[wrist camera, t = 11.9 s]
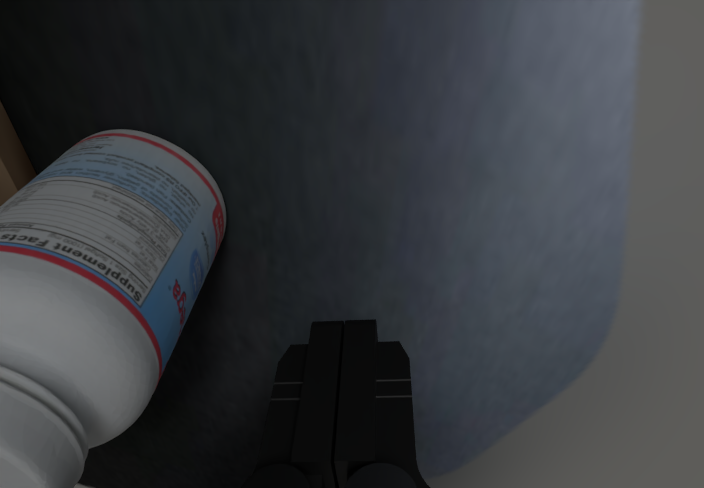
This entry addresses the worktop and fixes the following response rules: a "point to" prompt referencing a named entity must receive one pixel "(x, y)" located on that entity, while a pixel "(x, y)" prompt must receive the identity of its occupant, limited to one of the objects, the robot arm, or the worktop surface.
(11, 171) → the bar
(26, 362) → the pill bottle
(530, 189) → the worktop surface
